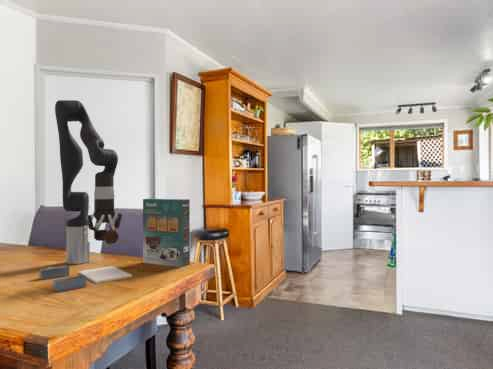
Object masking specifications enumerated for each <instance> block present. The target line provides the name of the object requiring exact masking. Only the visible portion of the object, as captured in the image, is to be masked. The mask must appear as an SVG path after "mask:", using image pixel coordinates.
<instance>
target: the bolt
mask: <svg viewBox="0 0 493 369" xmlns="http://www.w3.org/2000/svg"><path fill="white" fill-rule="evenodd" d="M98 231H99V240H98V241H99V242H101V241H104V242H105V243H106V244H107V245H111V244H116V243H117V241H118V240H119V236H120V235H119V233H118V232H117V230H116V229H115V230H110V229H109V230H106V229H99V230H98Z"/></svg>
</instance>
